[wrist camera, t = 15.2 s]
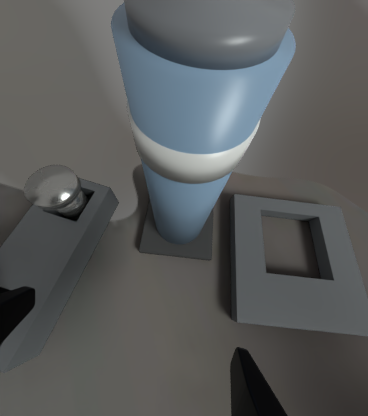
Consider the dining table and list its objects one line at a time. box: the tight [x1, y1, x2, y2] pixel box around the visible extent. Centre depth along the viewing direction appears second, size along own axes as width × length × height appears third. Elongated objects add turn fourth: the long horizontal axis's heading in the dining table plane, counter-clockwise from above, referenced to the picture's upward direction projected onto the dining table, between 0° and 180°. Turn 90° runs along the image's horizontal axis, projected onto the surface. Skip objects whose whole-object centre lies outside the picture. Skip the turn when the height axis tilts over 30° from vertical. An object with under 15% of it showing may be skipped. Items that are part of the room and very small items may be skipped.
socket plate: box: [230, 194, 368, 336], centre depth 18 cm, size 12×12×2 cm
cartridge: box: [111, 0, 296, 245], centre depth 11 cm, size 5×5×16 cm
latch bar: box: [0, 178, 119, 373], centre depth 15 cm, size 14×5×3 cm, turn 163°
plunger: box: [24, 165, 90, 220], centre depth 15 cm, size 4×4×4 cm
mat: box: [139, 199, 213, 260], centre depth 19 cm, size 7×7×1 cm
